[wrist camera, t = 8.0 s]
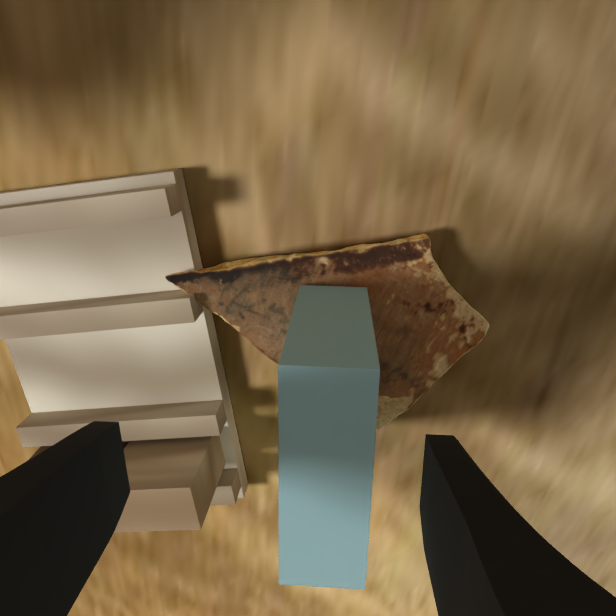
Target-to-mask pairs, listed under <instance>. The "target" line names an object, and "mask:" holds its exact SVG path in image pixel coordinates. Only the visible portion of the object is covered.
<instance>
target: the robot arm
mask: <svg viewBox="0 0 616 616" xmlns="http://www.w3.org/2000/svg"><path fill="white" fill-rule="evenodd" d="M129 494H130V485H129V480H128V474H127V468H126V462H125V456H124V450H123V444H122V438H121V432H120V426H119V422H106V421H93V422H92V423H90V424H88V425H86V426H84V427H82V428H80V429H79V430H77V431H75V432H74V433H72V434H70V435H69V436H67V437H65V438H64V439H62V440H61V441H59V442H57V443H56V444H54V445H53V446H51V447H49V448H48V449H46V450H44V451H43V452H41V453H40V454H38V455H36V456H35V457H33V458H31V459H30V460H28V461H27V462H25V463H23V464H22V465H20V466H18V467H17V468H15V469H14V470H12V471H10V472H8V473H7V474H5V475H3V476H1V477H0V616H67V614H68V613H69V611H70V609H71V607H72V606H73V604H74V602H75V600H76V599H77V597H78V595H79V593H80V592H81V590H82V588H83V586H84V585H85V583H86V581H87V579H88V578H89V576H90V574H91V572H92V571H93V569H94V567H95V565H96V564H97V562H98V560H99V558H100V556H101V555H102V553H103V551H104V549H105V548H106V546H107V544H108V542H109V540H110V539H111V537H112V535H113V533H114V531H115V529H116V526H117V524H118V522H119V519H120V517H121V515H122V512H123V510H124V507H125V504H126V502H127V499H128V497H129ZM420 514H421V525H422V534H423V544H424V551H425V556H426V561H427V565H428V570H429V574H430V579H431V584H432V588H433V593H434V597H435V602H436V606H437V611H438V615H439V616H616V597H614V596H613V595H612V594H610V593H609V592H608V591H607V590H605V589H604V588H603V587H601V586H600V585H599V584H597V583H596V582H595V581H593V580H592V579H591V578H589V577H588V576H587V575H586V574H584V573H583V572H582V571H581V570H579V569H578V568H577V567H576V566H575V565H573V564H572V563H571V562H570V561H569V560H568V559H567V558H565V557H564V556H563V555H562V554H561V553H560V552H559V551H557V550H556V549H555V548H554V547H553V546H552V545H550V544H549V543H548V542H547V541H546V540H545V539H544V538H543V537H542V536H541V535H540V534H539V533H538V532H537V531H535V529H534V528H533V527H532V526H531V525H530V524H529V523H528V522H527V521H526V520H525V519H524V518H523V517H522V516H521V515H520V514H519V513H518V512H517V511H516V510H515V509H514V508H513V507H512V506H511V505H510V503H509V502H508V501H507V500H506V499H505V498H504V497H503V495H502V494H501V493H500V492H499V491H498V490H497V489H496V487H495V486H494V485H493V484H492V483H491V482H490V481H489V479H488V478H487V477H486V476H485V475H484V473H483V472H482V471H481V470H480V468H479V467H478V466H477V465H476V463H475V462H474V461H473V460H472V458H471V457H470V456H469V454H468V453H467V452H466V451H465V449H464V448H463V447H462V445H461V444H460V443H459V441H458V440H457V439H456V438H455V437H454V436H452V435H427V434H426V438H425V450H424V462H423V474H422V486H421V497H420Z"/></svg>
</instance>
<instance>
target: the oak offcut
mask: <svg viewBox="0 0 616 616" xmlns="http://www.w3.org/2000/svg"><path fill="white" fill-rule="evenodd" d="M124 456H125V462H126V468H127V474H128V480H129V485H130V494H129V497H128V499H127V502H126V504H125V507H124V510H123V512H122V515H121V517H120V519H119V522H118V524H117V526H116V529H115V531H114V533H115V532H143V531H172V530H200V529H201V528H202V525H203V522H204V520H205V517H206V514H207V512H208V509H209V506H210V504H211V501H212V498H213V496H214V493H215V490H216V488H217V485H218V482H219V479H220V477H221V474H222V471H223V469H224V466H225V459H224V454H223V450H222V445H221V441H220V436H204V437H188V438H171V439H154V440H137V441H129V442H128V444H127V445H126V447H125V448H124Z"/></svg>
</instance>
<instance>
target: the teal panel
mask: <svg viewBox="0 0 616 616" xmlns="http://www.w3.org/2000/svg"><path fill="white" fill-rule="evenodd" d="M379 378H380V366H379V359H378V353H377V347H376V341H375V334H374V328H373V322H372V316H371V309H370V303H369V297H368V291H367V287H342V286H311V285H300V286H299V290H298V294H297V298H296V301H295V305H294V309H293V312H292V316H291V320H290V324H289V327H288V331H287V335H286V338H285V342H284V346H283V350H282V353H281V357H280V361H279V364H278V431H279V584H283V585H299V586H315V587H330V588H346V589H362V590H365V586H366V571H367V556H368V541H369V527H370V512H371V497H372V482H373V467H374V452H375V438H376V423H377V408H378V393H379Z"/></svg>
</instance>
